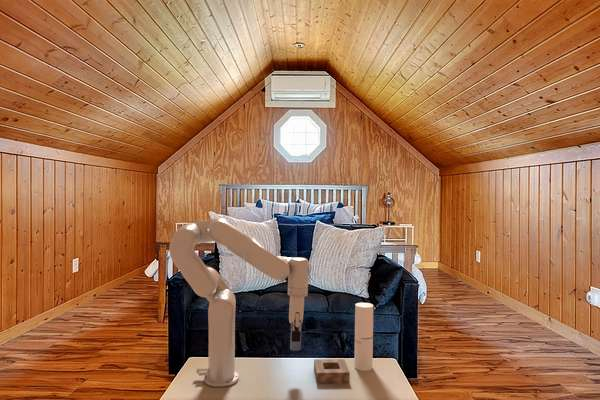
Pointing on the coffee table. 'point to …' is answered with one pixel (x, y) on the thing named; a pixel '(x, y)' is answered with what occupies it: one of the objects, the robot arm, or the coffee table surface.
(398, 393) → the coffee table surface
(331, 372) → the socket block
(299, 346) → the peg
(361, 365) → the cylindrical container
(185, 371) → the coffee table surface
